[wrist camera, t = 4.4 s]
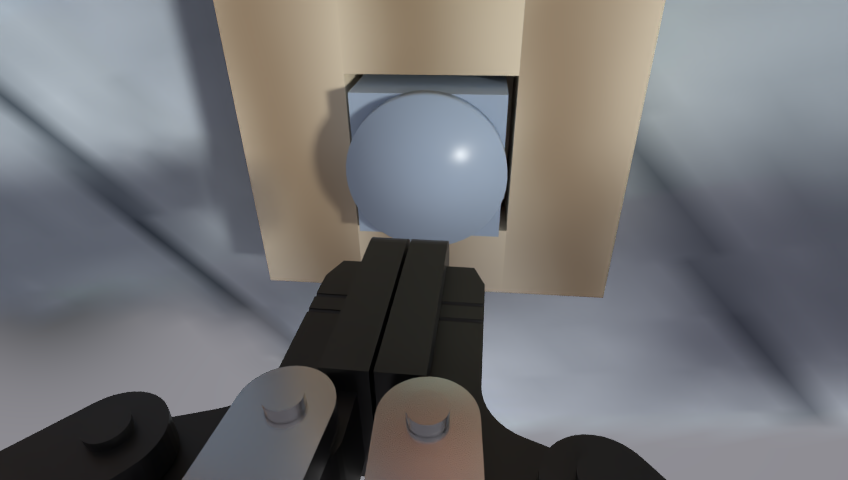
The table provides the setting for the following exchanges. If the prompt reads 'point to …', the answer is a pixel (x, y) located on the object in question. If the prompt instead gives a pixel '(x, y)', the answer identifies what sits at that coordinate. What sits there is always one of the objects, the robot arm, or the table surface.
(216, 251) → the table surface
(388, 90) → the slate button
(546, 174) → the button panel
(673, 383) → the table surface
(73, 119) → the table surface
